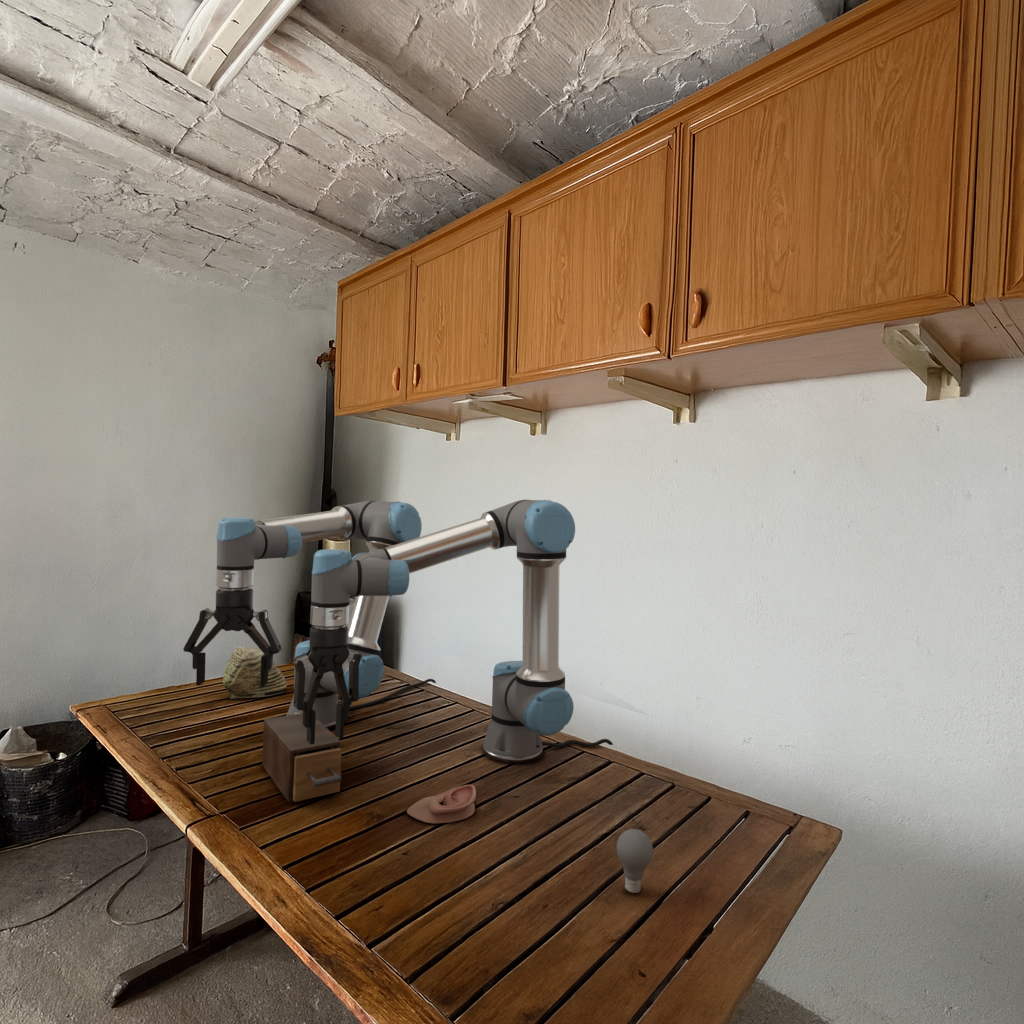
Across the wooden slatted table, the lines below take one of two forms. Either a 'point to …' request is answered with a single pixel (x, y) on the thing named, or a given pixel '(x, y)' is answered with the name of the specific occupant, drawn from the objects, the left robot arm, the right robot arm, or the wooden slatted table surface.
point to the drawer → (316, 773)
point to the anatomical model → (445, 806)
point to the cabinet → (290, 747)
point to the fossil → (251, 675)
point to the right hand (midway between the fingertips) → (325, 739)
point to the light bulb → (634, 857)
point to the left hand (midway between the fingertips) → (232, 684)
